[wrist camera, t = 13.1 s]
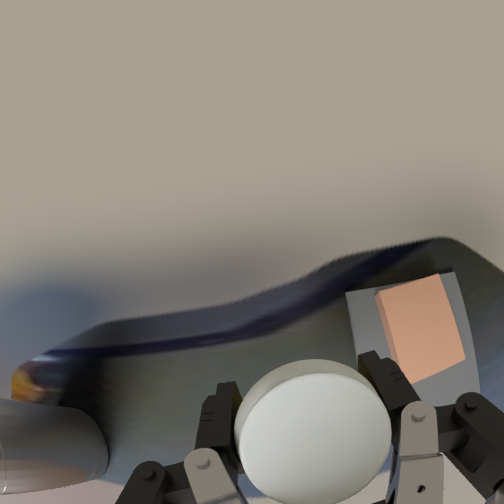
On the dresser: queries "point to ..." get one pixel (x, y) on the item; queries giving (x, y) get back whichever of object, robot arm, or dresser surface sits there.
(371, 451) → the supplement bottle
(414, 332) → the terracotta tile
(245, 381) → the dresser surface
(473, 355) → the rubber mat
